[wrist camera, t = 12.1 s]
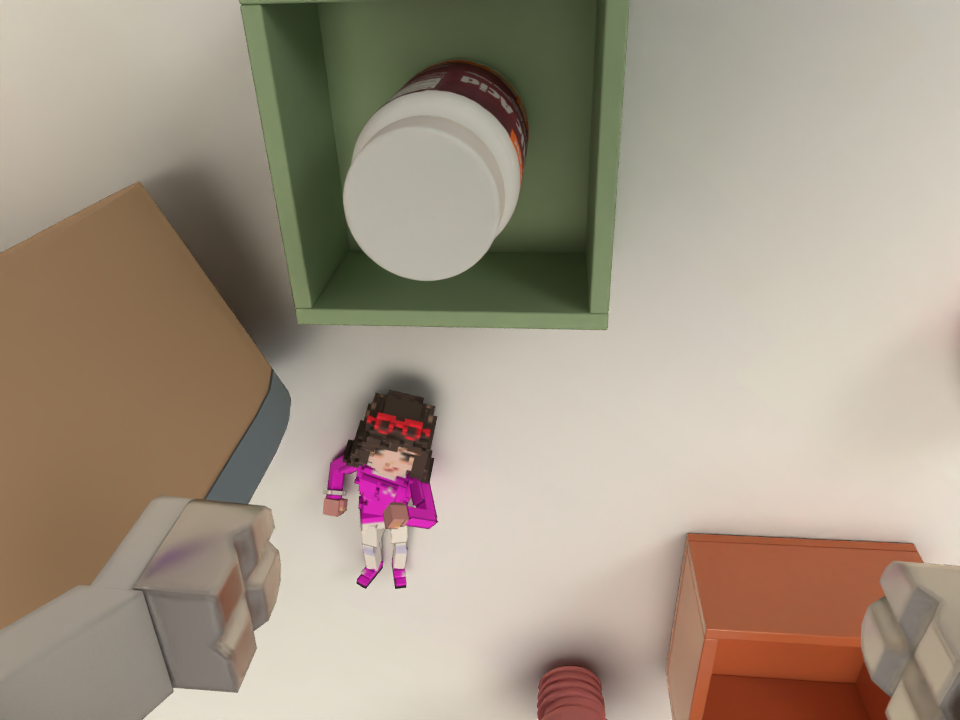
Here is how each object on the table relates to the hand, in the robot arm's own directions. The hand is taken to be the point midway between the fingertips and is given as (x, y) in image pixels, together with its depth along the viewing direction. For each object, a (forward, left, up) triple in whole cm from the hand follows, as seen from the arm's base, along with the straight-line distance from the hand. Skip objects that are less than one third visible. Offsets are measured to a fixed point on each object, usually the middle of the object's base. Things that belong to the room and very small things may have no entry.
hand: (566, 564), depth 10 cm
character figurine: (+15, -8, -19) cm, 26 cm away
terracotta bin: (+23, +11, -19) cm, 32 cm away
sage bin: (-1, -4, -19) cm, 19 cm away
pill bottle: (-1, -4, -19) cm, 19 cm away
